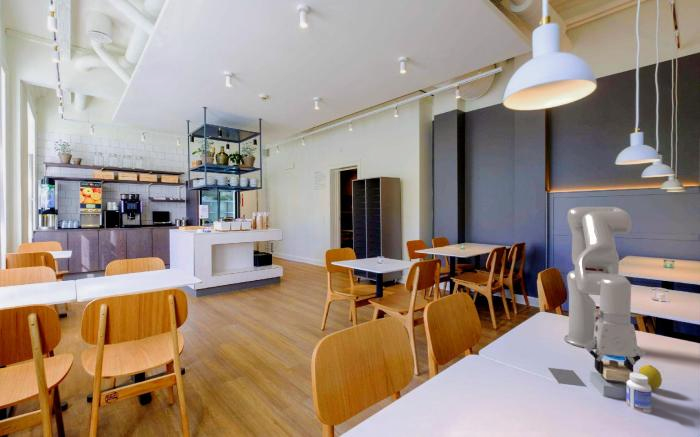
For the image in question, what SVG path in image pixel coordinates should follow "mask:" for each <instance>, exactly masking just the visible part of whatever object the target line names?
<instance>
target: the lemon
mask: <svg viewBox="0 0 700 437" xmlns="http://www.w3.org/2000/svg"><path fill="white" fill-rule="evenodd" d="M638 373H639V374H643V375H645V376H647V377H648V383H647V384H648V385H650V387H651V391H652V390H656V389H659V388H660V386H661V385H662V382H663V378H662V375H661V373H660V371H659V370H658V369H657V368H656V367H654V366H653V365H651V364H647V365H642V366H641V367H640V368H639V370H638Z"/></svg>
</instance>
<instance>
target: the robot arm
mask: <svg viewBox="0 0 700 437" xmlns="http://www.w3.org/2000/svg"><path fill="white" fill-rule="evenodd" d="M566 215H567V218H566V219H567V223H568V226H569V228H570V232H571V236H572V240H571V261H572V264H573V265H574V269H573V270H571V271H569V272H568V273H567V275H566V282H567V288H568V334H566V335H564V337H563V339H564V340H563V341H565V342H567V343H568V344H570V345H572V346H576V347H579V348H585V349H586V351H587V352H588V353H589V354H590V355H591V356H592V357H593V358H594V369H595V370H596V372H599V373H600V374H603V361H602V359H603V358H604V356H611V357H614V356H615V357H624V358H625V359H624V361H623V365H624V366H626V367H627V368H628V369H629V370H631V371H632V372H633V373H634V365H636V363H637V362H638V361H639V360H641V358H642V357H644V356H645V355H646V353H647V352H646V351H645V350H644V349H642V348H641V347H640V346H638V341H637V334H636V328H635V325H634V323H631V312H632V311H631V309H632V306H631V305H632V302H631V301H632V298H631V297H632V284H631V282H630V280H628V278H627V277H626V276H625V275H623V274H619V270H620V268H619V266H620V257H619V254H618V251H617V249H616V248H617V247H616V242H615V237H614V235H615V234H616V235H624V234H625V235H626V234H628V233H630V231H631V229H632V223H633V222H632V219H631V216H630V214H629V213H628V212H626V211H625V210H624V209H621V208H620V207H617V206H577V207H572V208H570V209H569V210H568V211H567V214H566ZM586 269H589V270H586ZM590 269H596V270H590ZM597 269H598V270H597ZM600 269H601V270H603V271H600ZM590 295H593V296H599V309H598V311H597V306H596V302H595V301H594V299H593V298H592V297H591V296H590ZM596 318H597V319H596ZM593 349H596V350H595V351H594V350H593Z"/></svg>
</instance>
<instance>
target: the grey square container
mask: <svg viewBox="0 0 700 437" xmlns="http://www.w3.org/2000/svg"><path fill="white" fill-rule="evenodd" d="M589 373H590V374H589V375H590V378H589V382H590V383H591V385H592V386H593V387H594V388H595V389H596V390H597V391H598V392H599V393H600V394H601V395H602V397H603V398H604V397H605V398H613V399H620V400H626V397H627V382H624V381H616V380H607V379H605V378H604V377H603V376H602V375H601V374H600V373H599V372H598V371H590V372H589Z"/></svg>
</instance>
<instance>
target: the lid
mask: <svg viewBox="0 0 700 437" xmlns="http://www.w3.org/2000/svg"><path fill="white" fill-rule="evenodd" d="M602 361H603V374H601V375H602V376H603V377H604V378H605V379H607V380H616V381H624V382H627V381H628V380H630V373H634V371H633V372H632V371H631V370H629V369H628V368H627V367H626V366H624V363H622V361H617V360H614V359H609V360H602Z"/></svg>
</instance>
